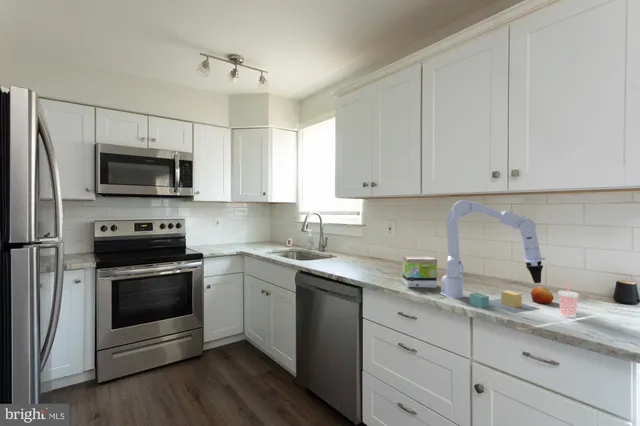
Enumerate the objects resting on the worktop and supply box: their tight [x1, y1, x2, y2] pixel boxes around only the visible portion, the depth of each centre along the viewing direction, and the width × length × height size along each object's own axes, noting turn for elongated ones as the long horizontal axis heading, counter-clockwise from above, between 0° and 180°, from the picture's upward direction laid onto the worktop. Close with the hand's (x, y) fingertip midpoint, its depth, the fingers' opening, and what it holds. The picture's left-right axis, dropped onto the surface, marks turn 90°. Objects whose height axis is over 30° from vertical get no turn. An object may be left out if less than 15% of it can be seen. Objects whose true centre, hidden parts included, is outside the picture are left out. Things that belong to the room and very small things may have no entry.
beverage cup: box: [557, 278, 579, 320], centre depth 123 cm, size 6×6×14 cm
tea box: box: [402, 255, 438, 289], centre depth 172 cm, size 15×10×15 cm, turn 91°
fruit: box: [530, 285, 554, 305], centre depth 140 cm, size 8×8×8 cm
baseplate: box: [489, 298, 541, 314], centre depth 136 cm, size 16×14×1 cm
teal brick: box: [469, 292, 490, 309], centre depth 135 cm, size 6×4×5 cm, turn 20°
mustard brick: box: [500, 289, 523, 307], centre depth 136 cm, size 6×4×5 cm, turn 20°
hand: (537, 281), depth 135 cm, fingers open, 7 cm apart
